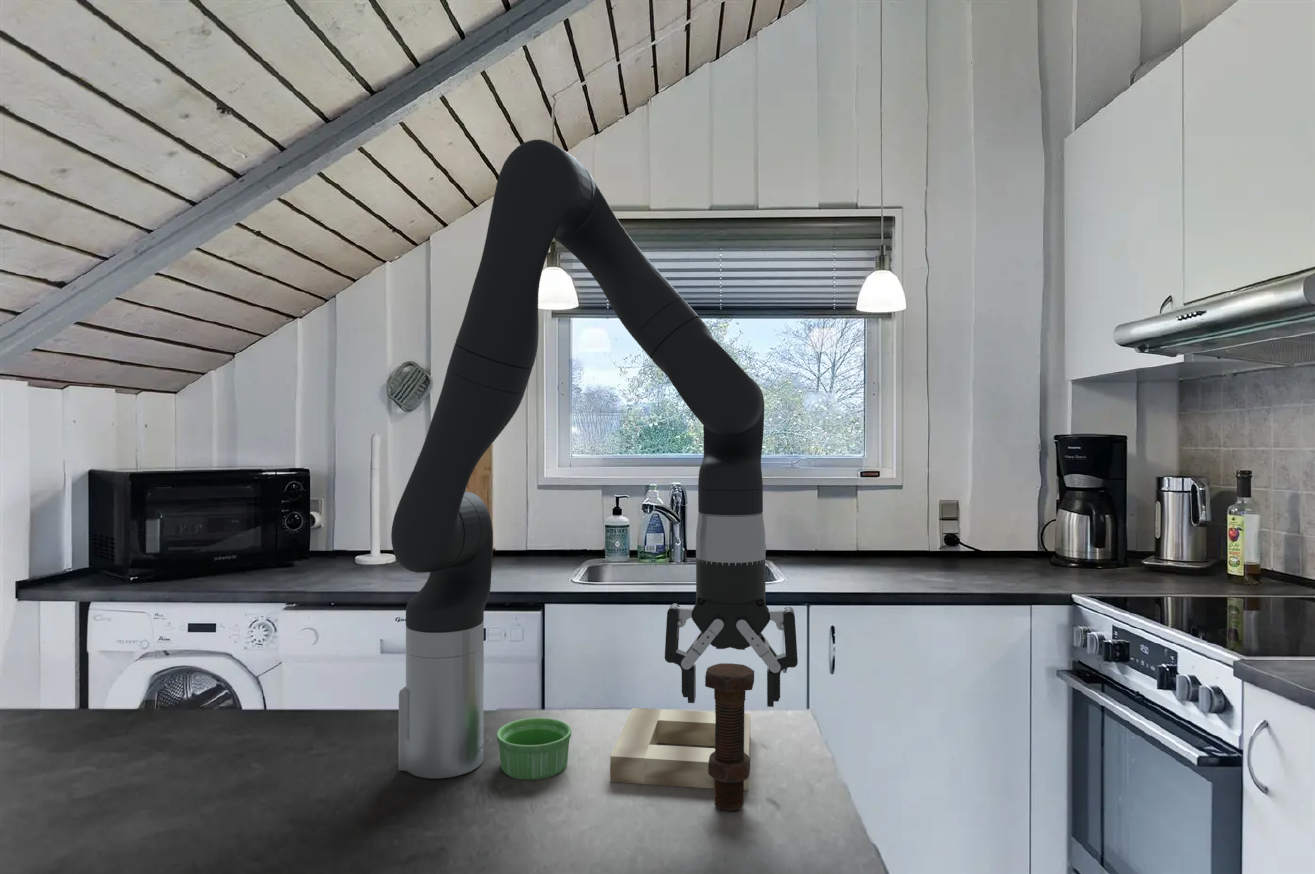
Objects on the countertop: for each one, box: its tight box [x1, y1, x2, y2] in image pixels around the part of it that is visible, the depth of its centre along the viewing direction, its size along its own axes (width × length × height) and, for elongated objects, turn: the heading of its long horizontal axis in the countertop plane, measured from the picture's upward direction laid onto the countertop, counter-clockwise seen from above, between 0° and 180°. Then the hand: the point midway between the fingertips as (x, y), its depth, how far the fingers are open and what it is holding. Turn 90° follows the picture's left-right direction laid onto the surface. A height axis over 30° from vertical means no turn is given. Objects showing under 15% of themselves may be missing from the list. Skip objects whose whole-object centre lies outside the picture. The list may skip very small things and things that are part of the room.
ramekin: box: [496, 717, 572, 781], centre depth 97 cm, size 9×9×4 cm
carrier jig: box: [609, 707, 751, 792], centre depth 99 cm, size 16×16×3 cm
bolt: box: [704, 662, 755, 812], centre depth 86 cm, size 6×5×15 cm
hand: (731, 702), depth 86 cm, fingers open, 8 cm apart
